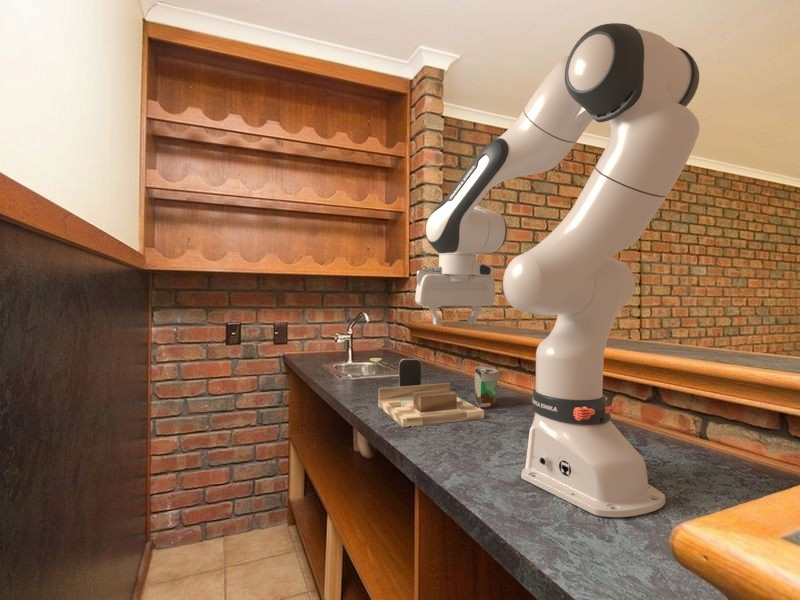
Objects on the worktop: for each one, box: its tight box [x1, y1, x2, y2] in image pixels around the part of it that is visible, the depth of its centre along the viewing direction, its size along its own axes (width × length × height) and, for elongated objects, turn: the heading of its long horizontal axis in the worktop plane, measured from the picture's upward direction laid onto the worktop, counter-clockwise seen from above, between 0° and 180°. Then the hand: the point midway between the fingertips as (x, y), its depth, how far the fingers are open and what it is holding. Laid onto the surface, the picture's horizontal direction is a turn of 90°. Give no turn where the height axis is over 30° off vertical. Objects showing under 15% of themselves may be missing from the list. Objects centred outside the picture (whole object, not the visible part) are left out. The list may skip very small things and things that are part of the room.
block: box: [413, 389, 458, 413], centre depth 109 cm, size 5×10×4 cm, turn 110°
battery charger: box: [398, 357, 422, 387], centre depth 131 cm, size 7×4×11 cm, turn 92°
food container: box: [473, 366, 500, 410], centre depth 120 cm, size 12×6×10 cm, turn 179°
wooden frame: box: [377, 382, 485, 428], centre depth 113 cm, size 20×22×5 cm
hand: (454, 324), depth 103 cm, fingers open, 8 cm apart
